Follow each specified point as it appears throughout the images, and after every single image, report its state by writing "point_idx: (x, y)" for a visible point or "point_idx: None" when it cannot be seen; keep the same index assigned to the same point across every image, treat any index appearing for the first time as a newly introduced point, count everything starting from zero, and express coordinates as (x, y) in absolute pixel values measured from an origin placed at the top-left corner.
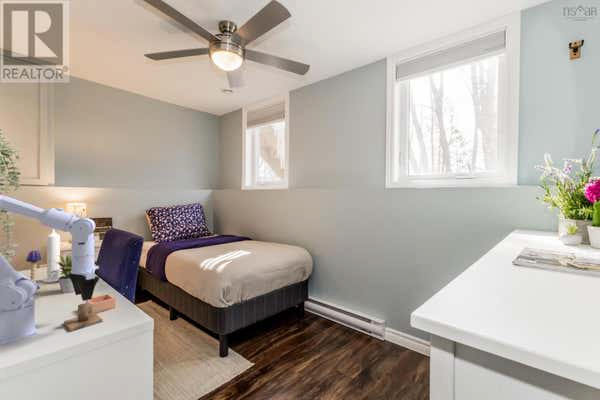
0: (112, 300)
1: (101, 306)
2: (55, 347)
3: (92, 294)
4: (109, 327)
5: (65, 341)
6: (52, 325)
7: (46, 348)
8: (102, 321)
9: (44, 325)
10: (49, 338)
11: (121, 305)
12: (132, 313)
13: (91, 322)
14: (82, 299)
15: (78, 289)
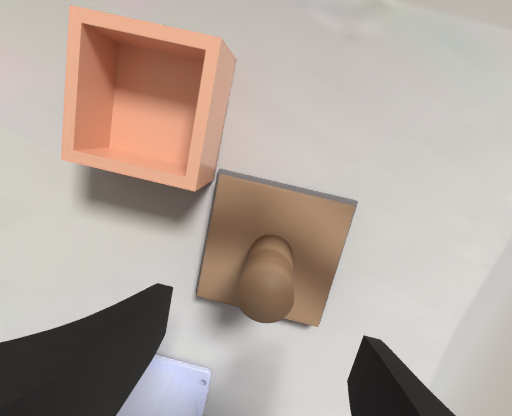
0: (221, 63)
1: (212, 135)
2: None
3: (403, 364)
4: (442, 219)
5: None
6: None
7: None
8: (352, 203)
9: None
10: (290, 369)
11: (215, 2)
12: (405, 47)
13: (339, 252)
14: (352, 392)
15: (146, 352)
